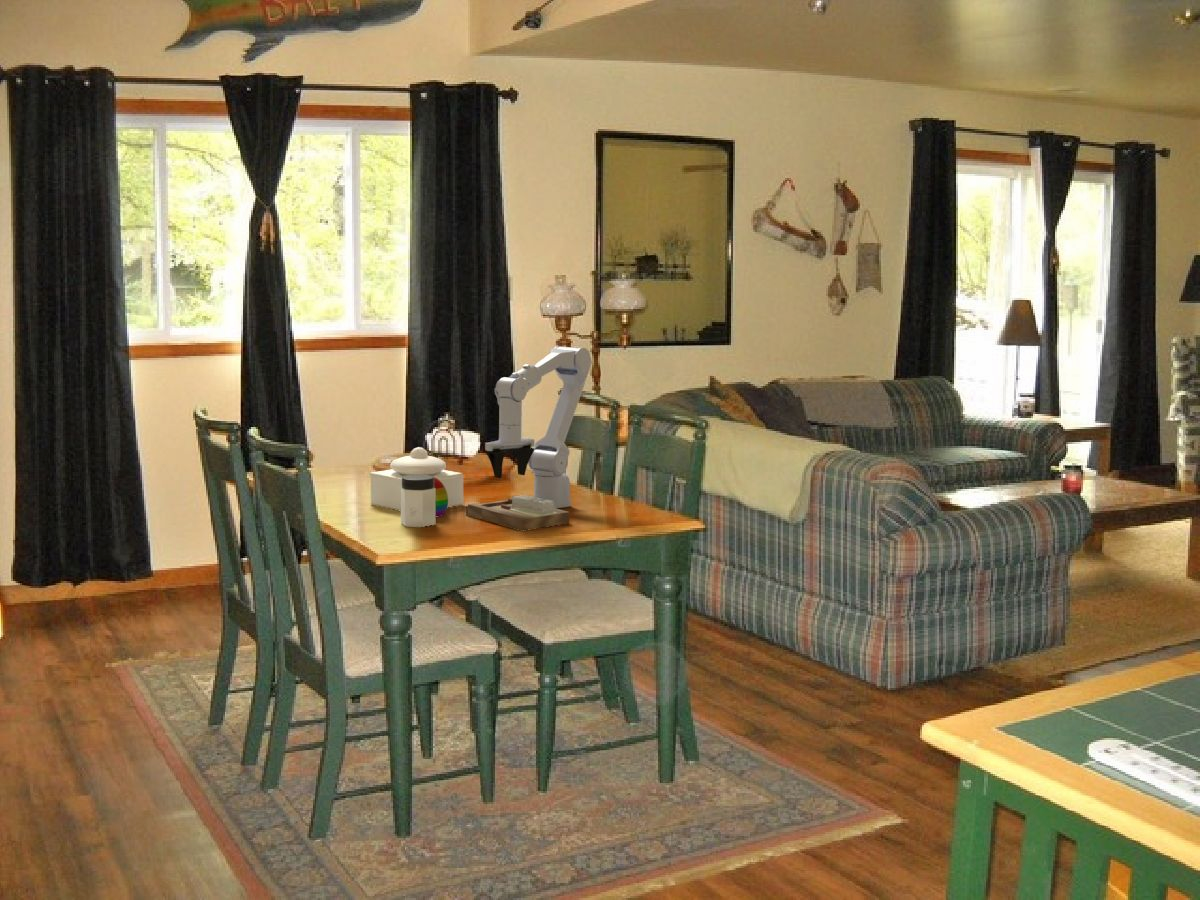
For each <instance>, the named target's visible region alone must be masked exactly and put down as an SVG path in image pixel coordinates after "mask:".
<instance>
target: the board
mask: <svg viewBox="0 0 1200 900" xmlns="http://www.w3.org/2000/svg"><path fill="white" fill-rule="evenodd" d="M510 509H513V508H512V497H511V498H507V499H506V500H499V501H498V500H497V501H492V502H484V503H478V504H477V503H468V504H467V505H465V516H467V515H469V516H468V517H471V516H472V517H471V518H474V517H476V518H475V519H478V518H480V519H479V520H481V519H483V520H482V521H485V520H487V521H486V522H488V521H491V522H490V523H492V522H494V523H493V524H495V523H498V524H497V525H499V524H501V525H500V526H502V525H505V526H504V527H506V526H508V527H507V528H509V527H511V528H510V529H513V528H515V529H514V530H516V529H519V530H518V531H520V530H522V531H521V532H524V531H523V530H527V531H529V530H528V529H533V530H536V529H535V528H539V529H541V528H540V527H545V528H548V527H547V526H552V527H554V526H553V525H558V526H561V525H560V524H564V525H567V524H566V523H569V524H570V511H568V510H567V511H566V510H564V509H563V510H562V509H560V508H556V509H555V508H554V512H556V513H557V514H554V515H547V516H541V517H532V516H528V515H525V514H521V513H517V512H514V511H510Z"/></svg>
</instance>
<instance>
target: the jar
mask: <svg viewBox="0 0 1200 900" xmlns="http://www.w3.org/2000/svg"><path fill="white" fill-rule="evenodd" d="M436 518H437V517H436V489H435V488H434V477H433V476H431V475H422V474H415V475H406V476H403V477H402V487H401V511H400V524H402V525H403V526H404V527H405V526H406V527H405V528H421V527H423V528H426V527H425V526H427V527H430V525H432V526H435V525H436V521H437V520H436ZM434 524H435V525H434Z"/></svg>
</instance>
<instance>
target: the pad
mask: <svg viewBox="0 0 1200 900" xmlns="http://www.w3.org/2000/svg"><path fill="white" fill-rule="evenodd" d="M510 511H514V512H517V513H521V514H525V515H528V516H532V517H541V516H547V515H554V514H557V513H556V512H554V513H550V514H545V515H540V514H536V513H531V512H526V511H522V510H517V509H510Z"/></svg>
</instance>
